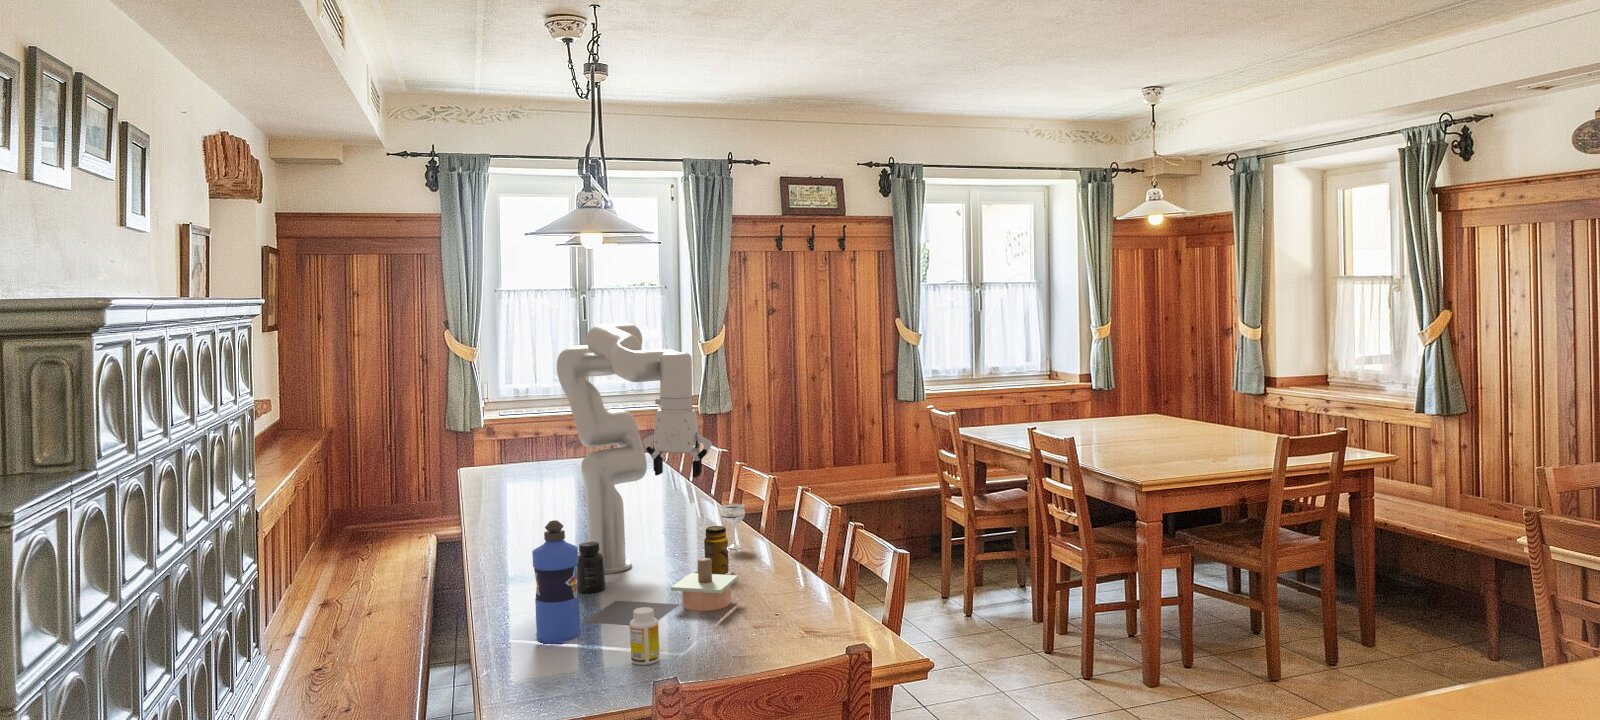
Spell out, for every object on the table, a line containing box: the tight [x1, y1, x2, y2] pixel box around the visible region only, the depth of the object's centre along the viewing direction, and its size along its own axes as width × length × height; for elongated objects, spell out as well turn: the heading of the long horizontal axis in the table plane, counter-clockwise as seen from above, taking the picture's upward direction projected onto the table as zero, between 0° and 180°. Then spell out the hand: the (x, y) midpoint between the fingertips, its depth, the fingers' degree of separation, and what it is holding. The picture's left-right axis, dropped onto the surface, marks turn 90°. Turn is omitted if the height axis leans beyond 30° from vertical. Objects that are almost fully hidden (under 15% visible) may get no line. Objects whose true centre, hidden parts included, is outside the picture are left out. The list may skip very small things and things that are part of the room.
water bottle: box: [532, 520, 582, 645], centre depth 216 cm, size 9×9×25 cm
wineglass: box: [720, 502, 746, 548], centre depth 290 cm, size 7×7×12 cm
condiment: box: [692, 525, 729, 575], centre depth 263 cm, size 7×8×12 cm
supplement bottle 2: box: [629, 607, 660, 666], centre depth 201 cm, size 6×6×10 cm
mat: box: [583, 600, 680, 626], centre depth 231 cm, size 16×16×1 cm
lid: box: [670, 557, 739, 593], centre depth 236 cm, size 12×12×6 cm
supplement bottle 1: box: [576, 541, 606, 595], centre depth 250 cm, size 7×7×12 cm
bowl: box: [680, 585, 732, 612], centre depth 236 cm, size 11×11×5 cm
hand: (677, 475), depth 244 cm, fingers open, 9 cm apart
